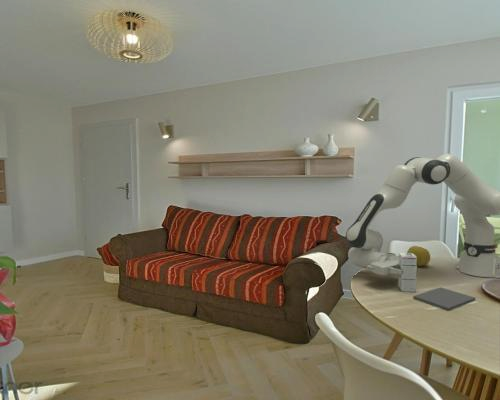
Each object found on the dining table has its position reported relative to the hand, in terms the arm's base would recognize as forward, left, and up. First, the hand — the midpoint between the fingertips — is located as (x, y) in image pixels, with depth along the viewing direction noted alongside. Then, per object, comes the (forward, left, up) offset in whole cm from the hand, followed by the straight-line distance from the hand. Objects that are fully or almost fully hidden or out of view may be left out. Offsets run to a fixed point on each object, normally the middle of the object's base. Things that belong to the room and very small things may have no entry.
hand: (409, 270), depth 134 cm
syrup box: (0, -1, -8) cm, 8 cm away
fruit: (-36, -19, -8) cm, 41 cm away
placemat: (-2, +13, -8) cm, 16 cm away
